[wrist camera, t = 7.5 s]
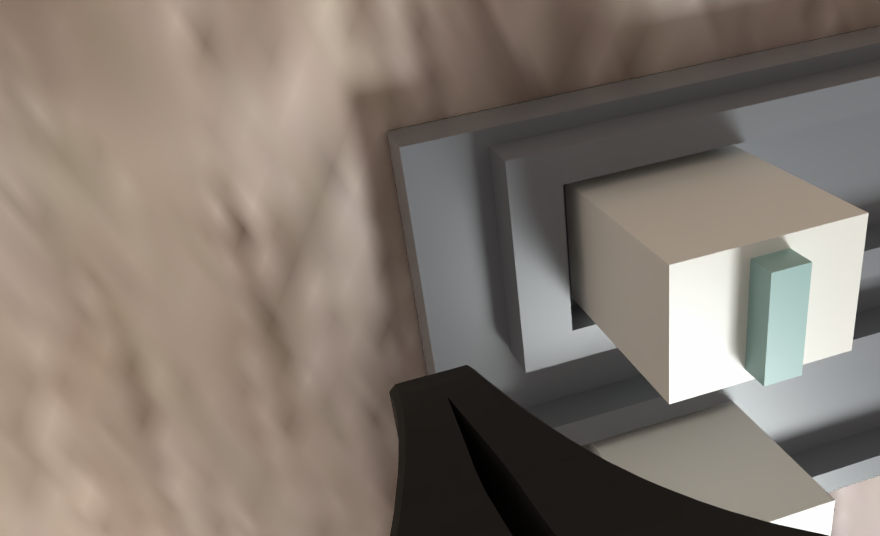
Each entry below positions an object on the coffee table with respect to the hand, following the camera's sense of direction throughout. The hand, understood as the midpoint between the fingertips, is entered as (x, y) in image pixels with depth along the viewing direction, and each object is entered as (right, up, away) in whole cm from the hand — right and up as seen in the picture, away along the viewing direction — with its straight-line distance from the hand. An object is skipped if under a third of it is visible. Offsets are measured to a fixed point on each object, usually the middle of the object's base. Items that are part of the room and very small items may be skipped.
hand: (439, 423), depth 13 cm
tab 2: (+6, -3, +9) cm, 11 cm away
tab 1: (+5, +4, +6) cm, 8 cm away
